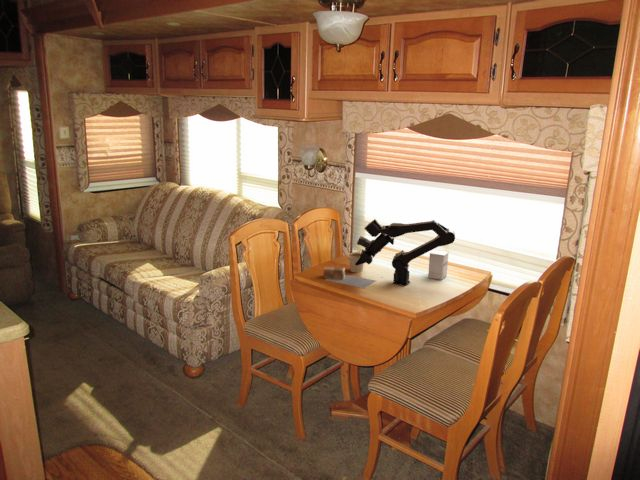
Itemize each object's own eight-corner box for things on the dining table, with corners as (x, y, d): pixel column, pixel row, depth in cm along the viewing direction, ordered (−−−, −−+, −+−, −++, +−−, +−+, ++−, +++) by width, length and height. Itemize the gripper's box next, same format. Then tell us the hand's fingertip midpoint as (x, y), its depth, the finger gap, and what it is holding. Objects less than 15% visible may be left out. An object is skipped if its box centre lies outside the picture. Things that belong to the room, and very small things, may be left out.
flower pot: (344, 272, 264) (344, 256, 262) (351, 267, 272) (352, 251, 270) (361, 275, 260) (361, 258, 258) (368, 270, 268) (368, 254, 266)
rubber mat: (376, 281, 251) (376, 280, 251) (364, 289, 240) (364, 288, 240) (337, 273, 262) (337, 272, 262) (324, 280, 252) (324, 279, 252)
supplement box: (442, 280, 254) (443, 255, 250) (427, 277, 257) (429, 253, 254) (447, 276, 260) (448, 252, 257) (433, 273, 264) (434, 249, 260)
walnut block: (345, 268, 255) (325, 266, 257) (343, 270, 251) (323, 269, 253) (345, 276, 256) (325, 275, 258) (343, 279, 252) (323, 278, 254)
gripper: (369, 227, 255) (347, 247, 260) (364, 236, 237) (341, 258, 242) (385, 243, 255) (362, 263, 260) (381, 253, 238) (357, 275, 243)
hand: (355, 264), depth 251 cm, fingers closed
